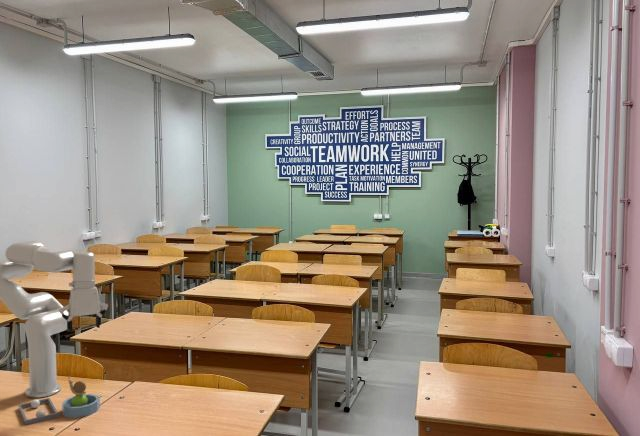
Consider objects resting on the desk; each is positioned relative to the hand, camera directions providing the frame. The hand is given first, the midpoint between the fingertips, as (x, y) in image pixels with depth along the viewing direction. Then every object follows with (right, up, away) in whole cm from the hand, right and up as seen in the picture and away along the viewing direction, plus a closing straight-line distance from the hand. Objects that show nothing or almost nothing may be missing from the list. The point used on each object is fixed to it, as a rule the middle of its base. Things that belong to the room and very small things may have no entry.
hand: (84, 328), depth 193 cm
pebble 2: (-9, -29, -14) cm, 33 cm away
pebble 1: (-16, -28, -6) cm, 33 cm away
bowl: (+2, -28, -7) cm, 29 cm away
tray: (-12, -28, -10) cm, 32 cm away
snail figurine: (+1, -28, -8) cm, 29 cm away
